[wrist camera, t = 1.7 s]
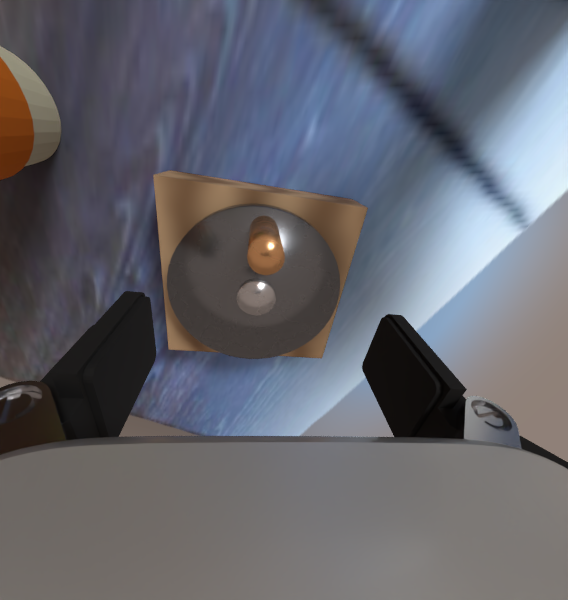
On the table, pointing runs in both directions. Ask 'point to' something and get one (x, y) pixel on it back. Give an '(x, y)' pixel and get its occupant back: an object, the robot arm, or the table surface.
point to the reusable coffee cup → (24, 117)
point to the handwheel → (253, 281)
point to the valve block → (223, 193)
